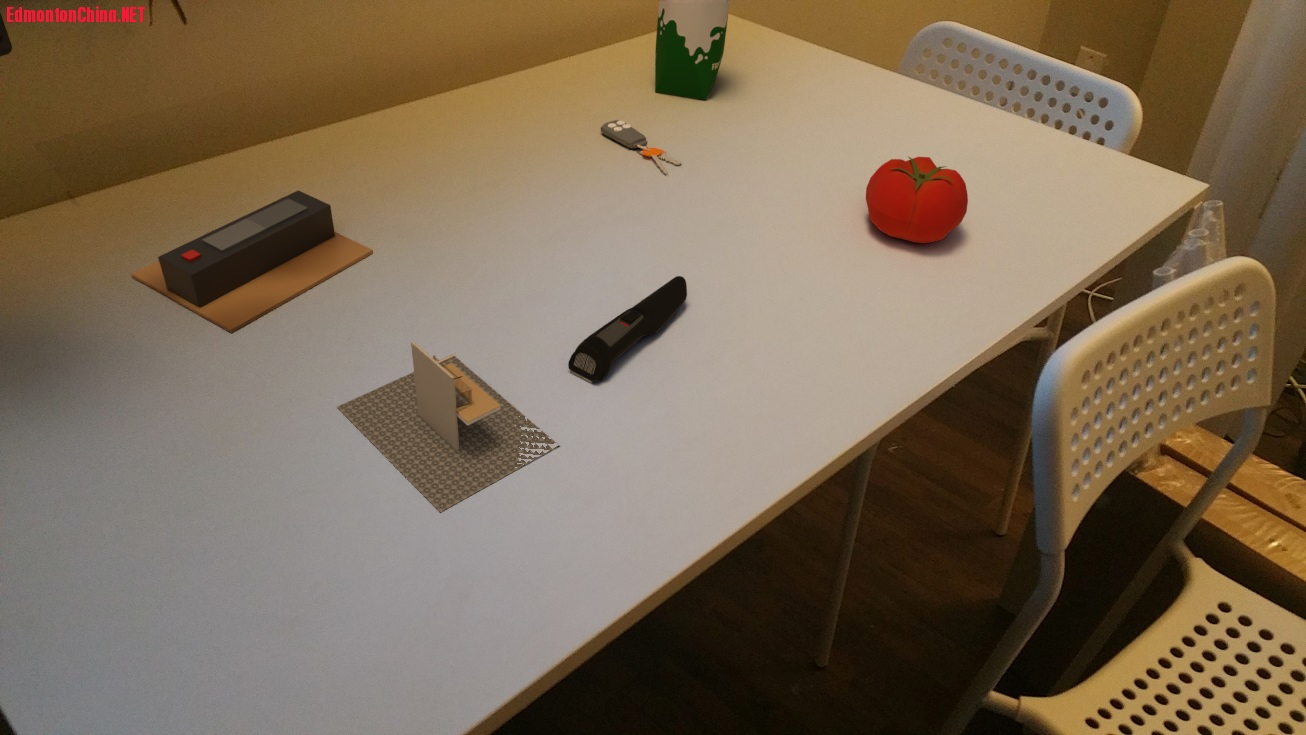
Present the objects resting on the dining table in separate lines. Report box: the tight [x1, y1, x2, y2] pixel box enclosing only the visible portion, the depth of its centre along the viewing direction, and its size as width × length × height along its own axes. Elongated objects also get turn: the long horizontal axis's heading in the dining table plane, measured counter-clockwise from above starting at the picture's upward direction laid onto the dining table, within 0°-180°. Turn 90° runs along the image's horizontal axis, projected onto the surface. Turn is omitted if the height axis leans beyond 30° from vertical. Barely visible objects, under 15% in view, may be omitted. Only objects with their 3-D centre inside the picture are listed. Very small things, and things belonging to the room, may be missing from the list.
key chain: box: [600, 119, 683, 175], centre depth 119 cm, size 13×4×2 cm, turn 41°
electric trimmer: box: [567, 275, 688, 384], centre depth 90 cm, size 4×16×3 cm, turn 145°
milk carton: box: [654, 0, 731, 101], centre depth 129 cm, size 9×9×20 cm
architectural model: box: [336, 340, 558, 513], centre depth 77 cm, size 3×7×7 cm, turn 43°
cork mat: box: [130, 231, 374, 334], centre depth 95 cm, size 14×17×1 cm
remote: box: [157, 190, 336, 308], centre depth 94 cm, size 16×5×4 cm, turn 147°
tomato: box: [865, 156, 969, 244], centre depth 108 cm, size 11×11×8 cm
